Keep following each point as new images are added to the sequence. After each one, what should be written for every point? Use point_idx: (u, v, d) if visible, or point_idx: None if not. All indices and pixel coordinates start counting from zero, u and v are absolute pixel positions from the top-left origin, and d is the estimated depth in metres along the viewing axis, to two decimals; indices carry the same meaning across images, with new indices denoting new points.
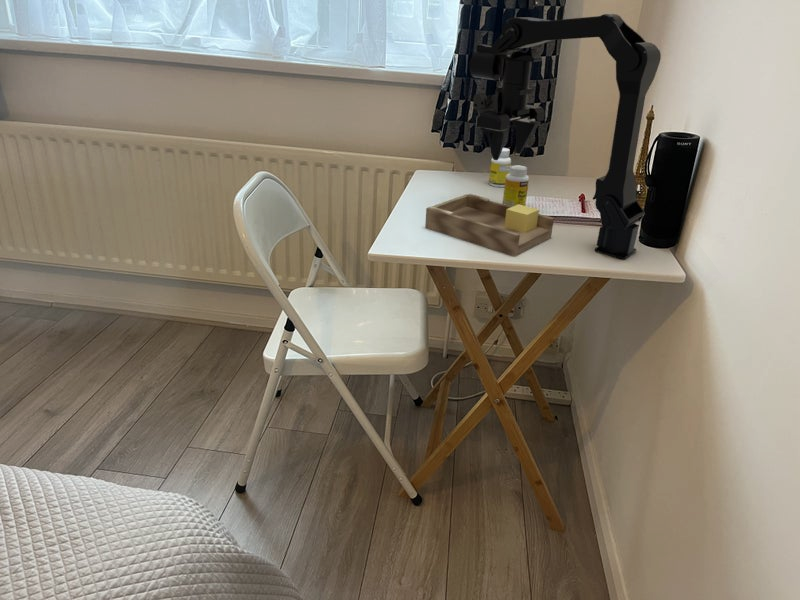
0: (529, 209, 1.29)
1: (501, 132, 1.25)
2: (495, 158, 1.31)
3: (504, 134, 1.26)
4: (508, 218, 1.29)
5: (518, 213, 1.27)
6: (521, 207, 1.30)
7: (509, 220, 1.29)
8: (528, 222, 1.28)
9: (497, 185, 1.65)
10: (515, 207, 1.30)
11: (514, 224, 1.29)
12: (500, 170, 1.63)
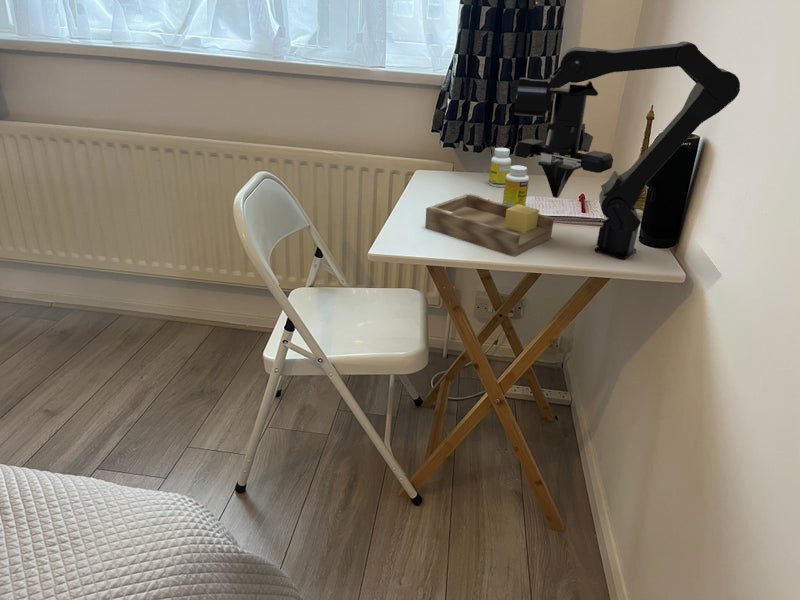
0: (529, 209, 1.29)
1: (538, 163, 1.20)
2: None
3: (544, 167, 1.20)
4: (508, 218, 1.29)
5: (518, 213, 1.27)
6: (521, 207, 1.30)
7: (509, 220, 1.29)
8: (528, 222, 1.28)
9: (497, 185, 1.65)
10: (515, 207, 1.30)
11: (514, 224, 1.29)
12: (500, 170, 1.63)
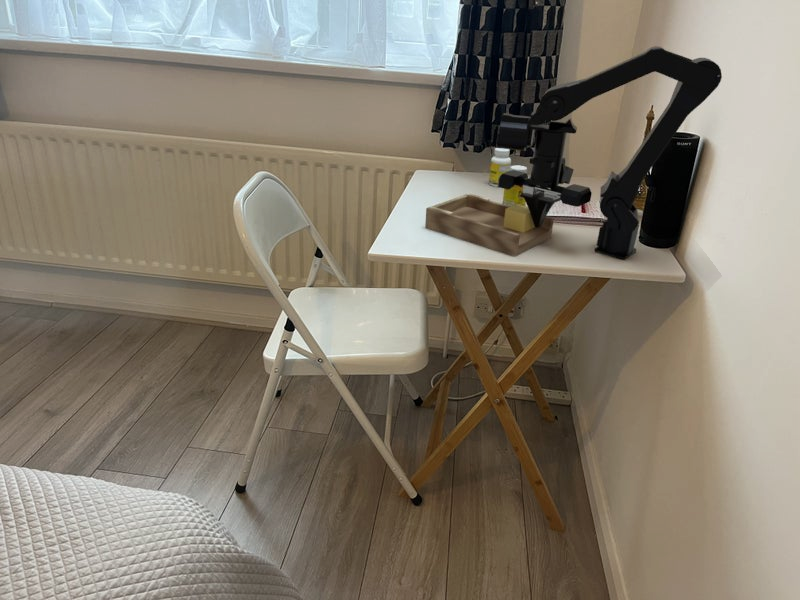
0: (528, 209, 1.29)
1: (521, 195, 1.25)
2: None
3: (526, 199, 1.25)
4: (507, 218, 1.30)
5: (517, 213, 1.27)
6: (520, 207, 1.30)
7: (508, 220, 1.29)
8: (527, 222, 1.28)
9: (497, 185, 1.65)
10: (514, 207, 1.30)
11: (513, 223, 1.29)
12: (500, 170, 1.63)
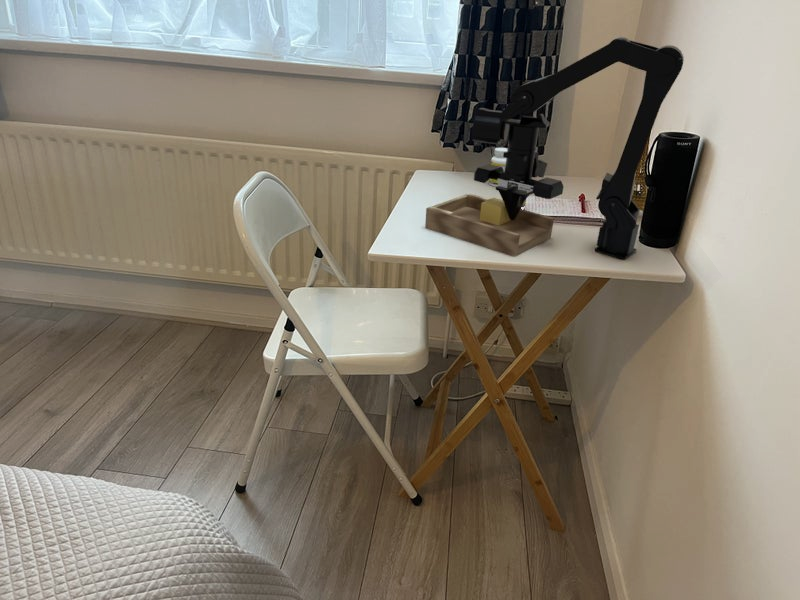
0: (503, 202, 1.33)
1: None
2: None
3: (500, 192, 1.28)
4: (483, 211, 1.33)
5: (492, 206, 1.31)
6: (496, 200, 1.34)
7: (484, 213, 1.33)
8: (502, 215, 1.31)
9: (497, 185, 1.65)
10: (489, 201, 1.34)
11: (489, 217, 1.32)
12: None
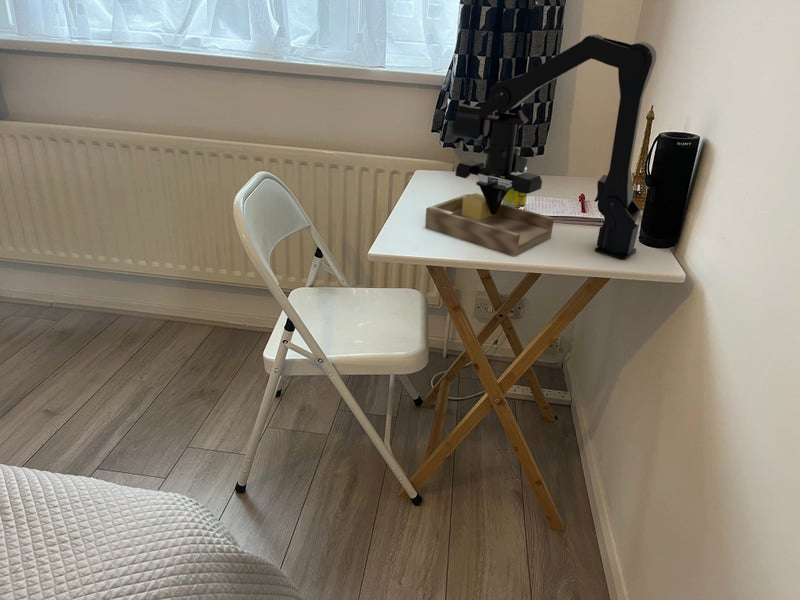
0: None
1: (476, 183, 1.31)
2: None
3: (481, 187, 1.31)
4: (464, 206, 1.36)
5: (473, 201, 1.34)
6: (477, 195, 1.37)
7: (466, 208, 1.36)
8: (483, 210, 1.34)
9: None
10: (471, 196, 1.36)
11: (470, 211, 1.35)
12: None
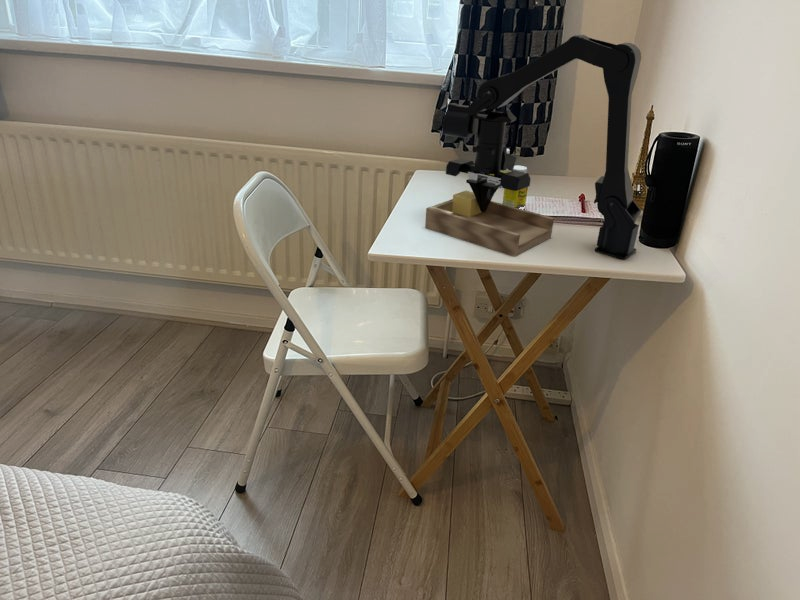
0: (474, 195, 1.37)
1: (466, 181, 1.33)
2: None
3: (471, 185, 1.33)
4: (455, 203, 1.37)
5: (463, 198, 1.35)
6: (467, 193, 1.38)
7: (456, 205, 1.37)
8: (473, 207, 1.36)
9: None
10: (461, 193, 1.38)
11: (460, 209, 1.37)
12: None
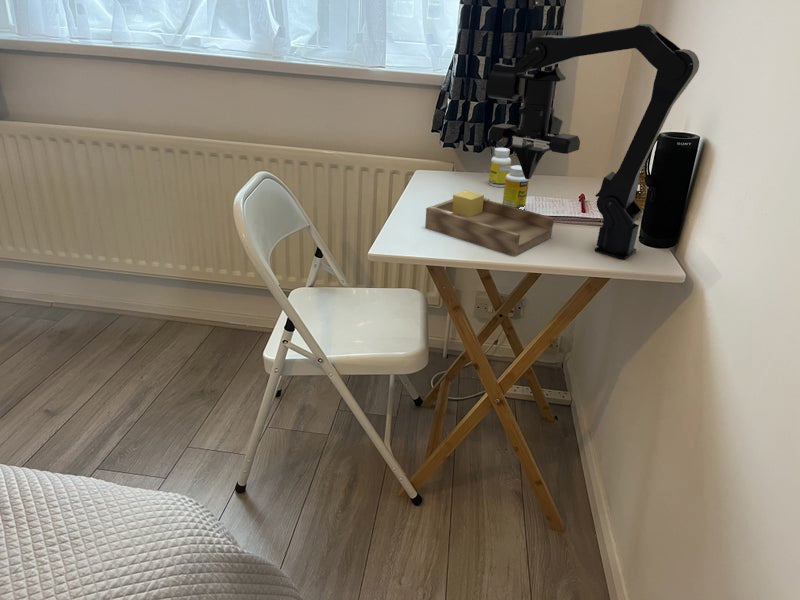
0: (474, 195, 1.37)
1: (510, 146, 1.27)
2: None
3: (515, 150, 1.26)
4: (455, 203, 1.37)
5: (463, 198, 1.35)
6: (467, 193, 1.38)
7: (456, 205, 1.37)
8: (473, 207, 1.36)
9: (497, 185, 1.65)
10: (461, 193, 1.38)
11: (460, 209, 1.37)
12: (500, 170, 1.63)
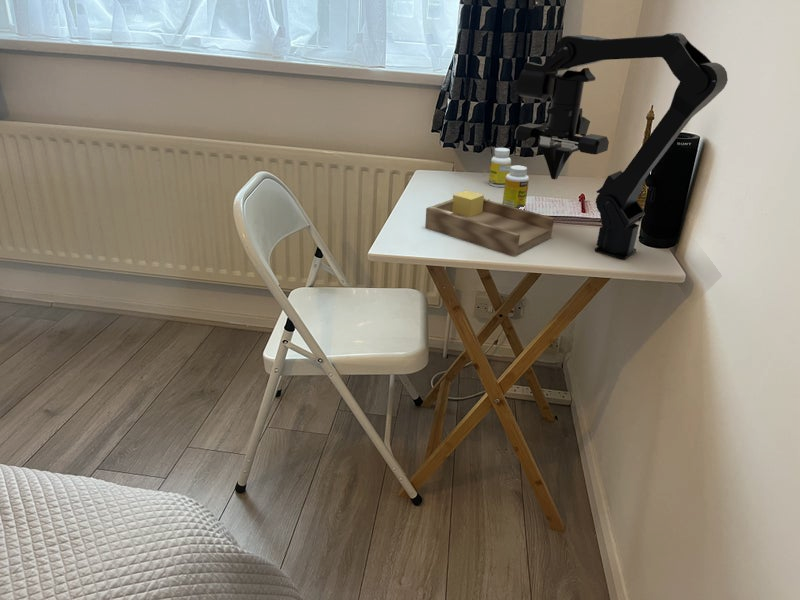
0: (474, 195, 1.37)
1: (538, 146, 1.26)
2: None
3: (543, 150, 1.26)
4: (455, 203, 1.37)
5: (463, 198, 1.35)
6: (467, 193, 1.38)
7: (456, 205, 1.37)
8: (473, 207, 1.36)
9: (497, 185, 1.65)
10: (461, 193, 1.38)
11: (460, 209, 1.37)
12: (500, 170, 1.63)
